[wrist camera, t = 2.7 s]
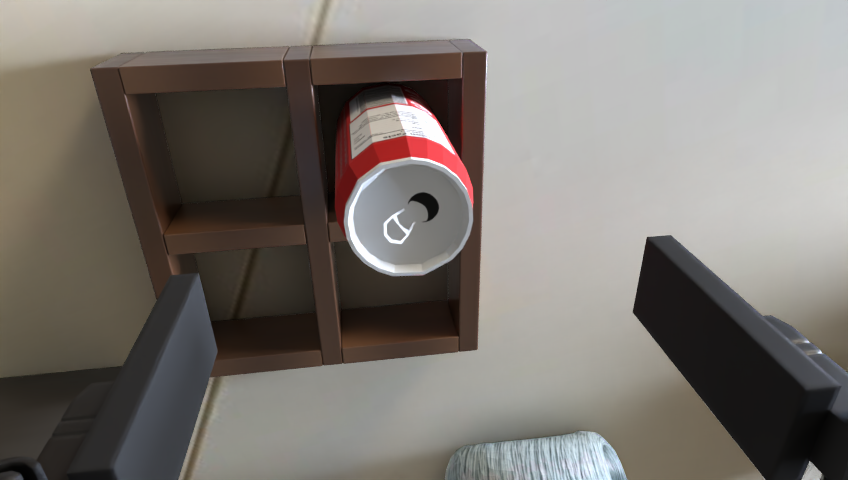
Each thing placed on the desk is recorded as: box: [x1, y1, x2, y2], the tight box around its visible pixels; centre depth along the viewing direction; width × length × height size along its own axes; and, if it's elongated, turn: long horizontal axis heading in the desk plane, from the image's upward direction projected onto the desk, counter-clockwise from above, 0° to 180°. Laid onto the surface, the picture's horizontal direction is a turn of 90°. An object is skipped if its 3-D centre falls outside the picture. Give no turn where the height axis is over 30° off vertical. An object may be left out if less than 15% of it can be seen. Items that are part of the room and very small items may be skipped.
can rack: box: [90, 39, 487, 377], centre depth 31 cm, size 18×18×4 cm
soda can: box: [335, 82, 473, 276], centre depth 26 cm, size 6×6×12 cm
